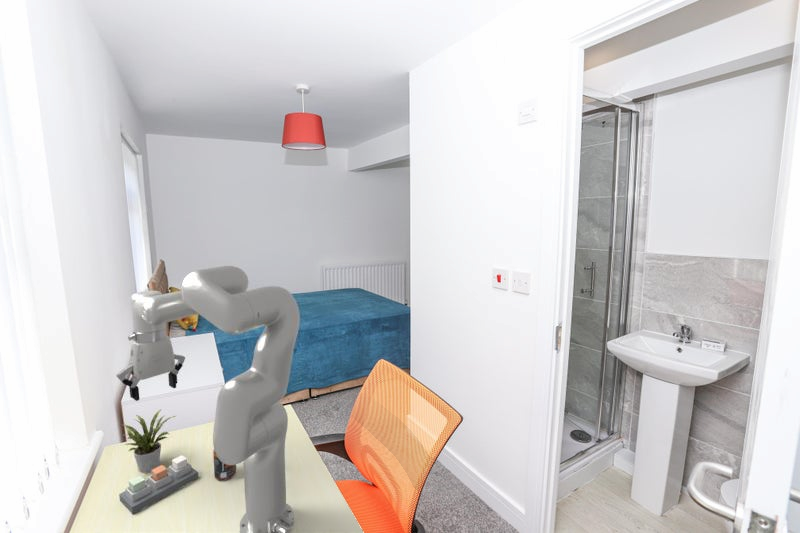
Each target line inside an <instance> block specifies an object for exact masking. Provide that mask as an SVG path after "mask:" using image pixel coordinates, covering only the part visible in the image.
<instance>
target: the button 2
mask: <svg viewBox="0 0 800 533" xmlns="http://www.w3.org/2000/svg"><path fill="white" fill-rule="evenodd" d="M167 470H168V469H167V467H165V466H164V465H162V464H161V465H159V466H158V467H157V468H155V469H153V470H151V472H150V473H151V475H152V479H153V480H154V481H156V482H157V481H159V480H161V479H162V478H164V477H166V476H167Z"/></svg>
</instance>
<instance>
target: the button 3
mask: <svg viewBox="0 0 800 533" xmlns="http://www.w3.org/2000/svg"><path fill="white" fill-rule="evenodd" d="M171 462H172V465H173V469H175V470H176V471H178V470H180V469H182V468H184V467H186V466H187V462H188V458H186V457H185V456H184V455H183V454H181V455H179V456H178V457H174V459H171Z"/></svg>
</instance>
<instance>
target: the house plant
mask: <svg viewBox="0 0 800 533" xmlns="http://www.w3.org/2000/svg"><path fill="white" fill-rule="evenodd" d="M161 411H162V409H159V410H158V411H156V412H155V414H154V416H153V417H152V419H151V422H150V427H149V429H148V427H147V423H146V421H145V419H144V418H142V417H141V416H140V415H138V414H136V415H135V416H136V417H137V419H134V418H133V420H135V421H136V422H137V423H139V424H140V425H141V428H142V431H143V434H141V433H140V432H138V430H137V429H135V428H134V427H132V426H130V425H127V424H121V425H122V426H124V427H125V429H126V431H127V438H126V440H127V439H128V440H129V439H131V440H132V441H134V442H130V443H128V442H127V443H125V445H127V446H128V445H130V446H134V447H131V448H129V450H128V452H130V451H131V452H132V451H133V456H134V458H135V462H136V465H137V468H138V471H139V473H141V474H146V473H151V470H153V469H155V468H157V467H159V466H160V460H161V451H162V450H161V449H162V443H161V442H159V441H163V440H164V439H168V437H167V436H165V435H169V436H170V433H169V432H168V431H163V432H161V433H160V434H158V436H157V437H156V435H157V433H158V432H159V431H160V430H161V429H162V427H163V426H164V424H165V423H166V422H168V420H170V419H172V418H175V417H176V415H173V416H169V417H167V418H165V416H166V414H165V415H162V416H161V417H160V418H159V419H157V418H158V416H159V413H160V412H161ZM163 418H165V420H163ZM162 420H163V421H162ZM161 421H162V422H161ZM155 423H156V425H155ZM154 425H155V426H154ZM122 436H125V434H123V435H122Z"/></svg>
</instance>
